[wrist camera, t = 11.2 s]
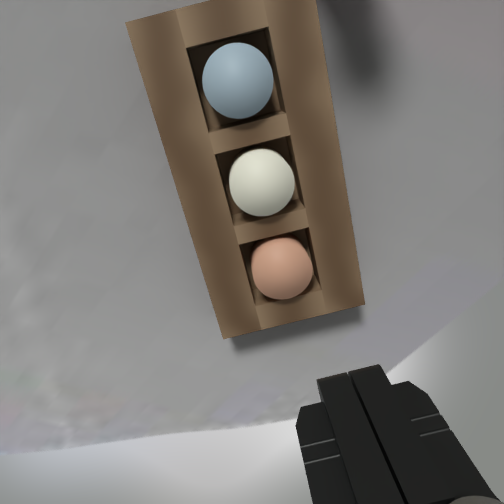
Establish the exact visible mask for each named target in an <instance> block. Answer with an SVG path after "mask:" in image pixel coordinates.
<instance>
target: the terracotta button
mask: <svg viewBox="0 0 504 504" xmlns="http://www.w3.org/2000/svg"><path fill="white" fill-rule="evenodd" d="M250 262H251V268H252V274H253V279H254V282H255V285H256V287H257V288H258V289H259V290H260V292H262V293H263V294H264V295H266V296H268V297H270V298H273V299H281V300H282V299H289V298H292V297H295V296H297V295H298V294H300V293H301V292H303V291H304V290H305V289H306V287H307V286H308V285H309V283H310V281H311V278H312V273H313V268H312V263H311V260H310V258H309V256H308V254H307V252H306V250H305V248H304V246H303V244H302V243H301V241H300V240H299V239H298V238H297V237H295V236H294V235H292V234H290V233H283V234H279V235H275V236H271V237H267V238H263V239H259V240H258V241H257V242H256V243H255V244H254V246H253V248H252V251H251V254H250Z"/></svg>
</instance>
